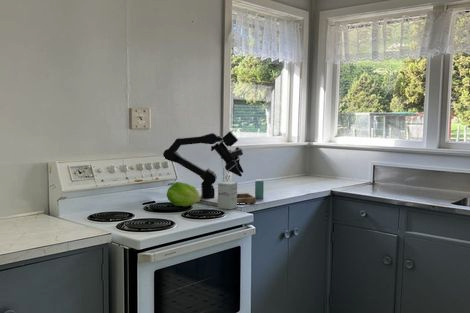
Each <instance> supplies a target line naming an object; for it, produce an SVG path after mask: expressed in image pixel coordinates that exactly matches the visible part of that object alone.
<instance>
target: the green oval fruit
mask: <svg viewBox="0 0 470 313" xmlns="http://www.w3.org/2000/svg"><path fill="white" fill-rule="evenodd" d="M166 197H167V200H168V201H169V202H170V203H172V204H173V206H183V207H189V206H190V207H191V206H192V205H195V204H196V203H199V202H200V201H201V199H202V197H201V194H200V193H199V191H198V190H197V188H196V187H195V186H192V185H191V184H188V183H184V182H180V181H177V182H174V183H172V185H170V186H169V188H168V189H167V191H166Z"/></svg>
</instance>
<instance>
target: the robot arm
mask: <svg viewBox="0 0 470 313" xmlns="http://www.w3.org/2000/svg"><path fill="white" fill-rule="evenodd" d="M238 141H239V140H238V137H237V136H236V135H235V134H234V133H233V132H231V130H229V131H228V132H227V133H226V134H225V135H224V136H219V135H217V133H215V132H211V133H207V134H204V135H201V136H191V137H183V138H182V137H178V138H176V139H175V141H174V142H173V143H172V144H171V145H170V146H169V147H168V148H167V149H165V150H164V151H163V153H162V156H163V158H164V157H165V158H164V159H165V160H167V161H170V162H172V163H176V164H178V165H180V166H182V167H183V168H185V169H187V170H188V171H190V172H193V173H194V174H195V175H197V176H199V177H200V178H201V179H202V182H201V184H200V185H201V189H200V190H201V194H200V197H201V199H214V198H215V194H216V193H215V192H216V191H215V188H214V185H213V184H215V183H216V181H217V175H216V173H215V171H214V170H213V171H212V170H211V169H210V168H207V169H205V168H204V169H203V168H202V167H200V166H199V165H197V164H195V163H193V162H191V161H190V160H188V159H186V158H185V157H183V156H181V155H180V154H179V153H178V150H179V149H180V148H181V146H187V145H188V146H189V145H196V144H197V145H198V144H205V145H210V147H211V148H210V152H213V151H215V152H216V153H217V154H218V156H220V159H221V160H223V161H224V162H225V165H224V169H225V170H226V171H227V172H229V173H232V174H234V175H236V176H238V177H240V178H241V177H243V175H242V174H243V173H244V169H243V168H242V165H241V164H240V163H241V162H240V161H241V160H240V156H242V155H244V153H243V152H244V151H243V149H242V148H241V147H239V146H237V147H235V150H233V151H232V150H231V149H229V148H228V147H232V146H234V145H235V144H236V143H237V142H238ZM218 142H220V143H218Z"/></svg>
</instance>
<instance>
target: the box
mask: <svg viewBox="0 0 470 313" xmlns="http://www.w3.org/2000/svg"><path fill="white" fill-rule="evenodd" d="M237 203H256V204H257V199H256V198H255V195H252V194H250V193H249V192H246V193H237Z"/></svg>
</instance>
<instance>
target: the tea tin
mask: <svg viewBox="0 0 470 313" xmlns="http://www.w3.org/2000/svg"><path fill="white" fill-rule="evenodd" d="M264 184H265V182H264V179H263V178H261V179H260V178H258V179H257V178H256V179H255V181H254V185H255V186H254V197H255V198H256V200H257V199H258V200H259V199H260V200H264V192H265V191H264Z"/></svg>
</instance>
